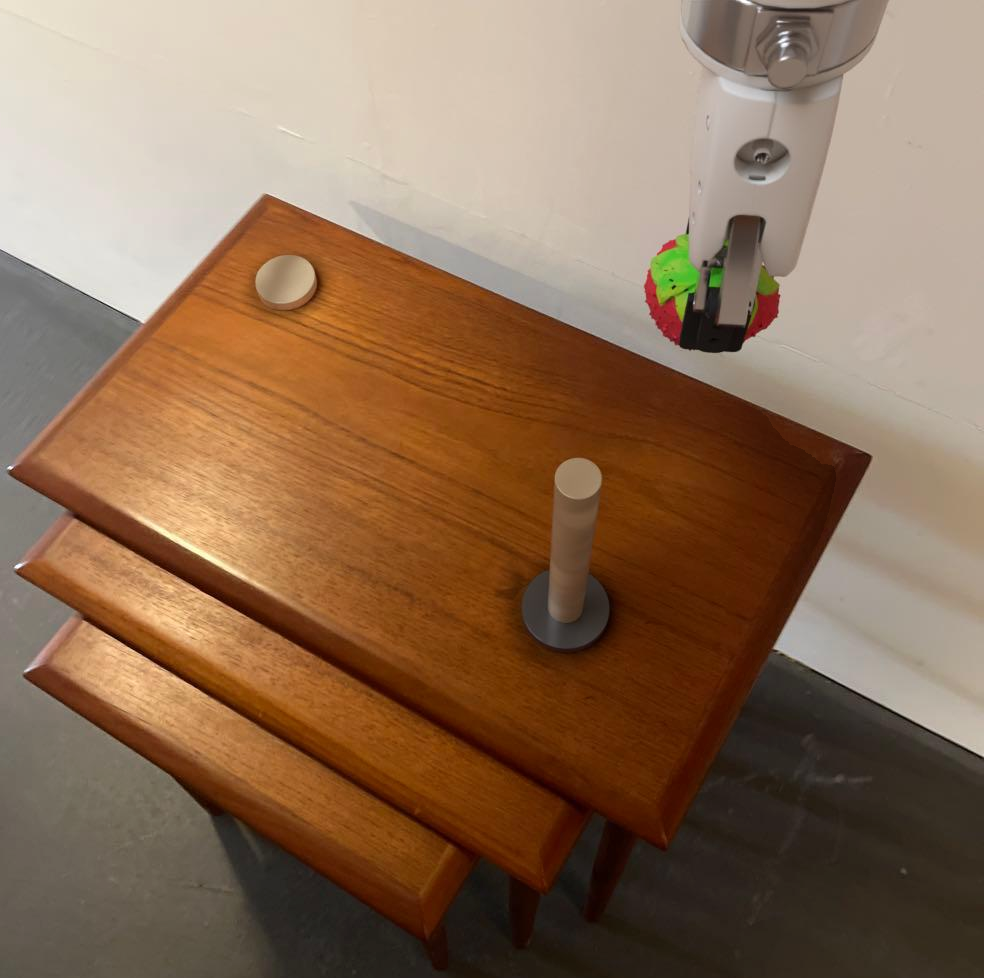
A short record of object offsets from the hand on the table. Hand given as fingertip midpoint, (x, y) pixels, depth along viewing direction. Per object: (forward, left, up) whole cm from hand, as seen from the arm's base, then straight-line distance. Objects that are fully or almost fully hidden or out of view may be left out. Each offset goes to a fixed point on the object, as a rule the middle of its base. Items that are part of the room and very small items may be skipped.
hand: (712, 291), depth 53 cm
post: (+6, +12, -20) cm, 24 cm away
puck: (+32, -14, -20) cm, 40 cm away
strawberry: (0, 0, -5) cm, 5 cm away
